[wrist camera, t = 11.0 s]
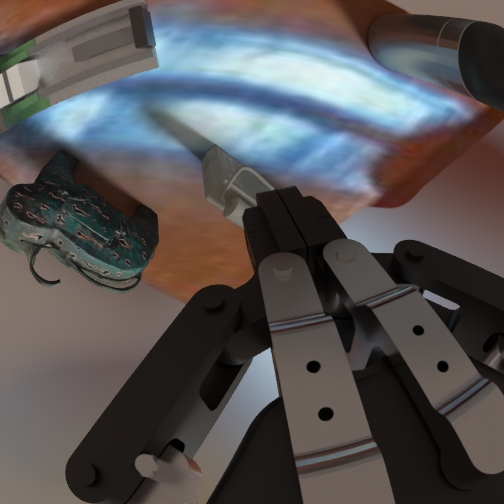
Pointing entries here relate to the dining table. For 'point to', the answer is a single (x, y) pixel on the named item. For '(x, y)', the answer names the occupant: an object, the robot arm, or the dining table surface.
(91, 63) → the grey open box
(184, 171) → the dining table surface
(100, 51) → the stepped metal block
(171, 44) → the dining table surface
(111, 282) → the green animal figurine
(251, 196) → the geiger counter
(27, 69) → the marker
